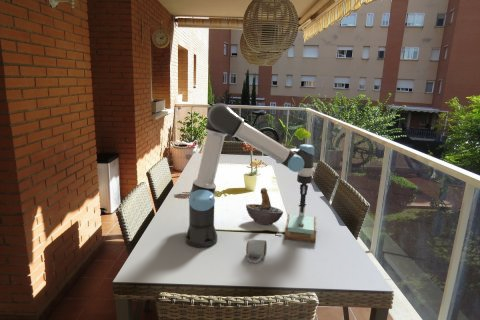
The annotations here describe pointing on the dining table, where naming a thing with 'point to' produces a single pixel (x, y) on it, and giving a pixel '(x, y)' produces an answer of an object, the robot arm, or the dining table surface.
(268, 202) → the planter
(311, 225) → the lid
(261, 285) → the dining table surface
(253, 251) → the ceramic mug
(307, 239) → the box
